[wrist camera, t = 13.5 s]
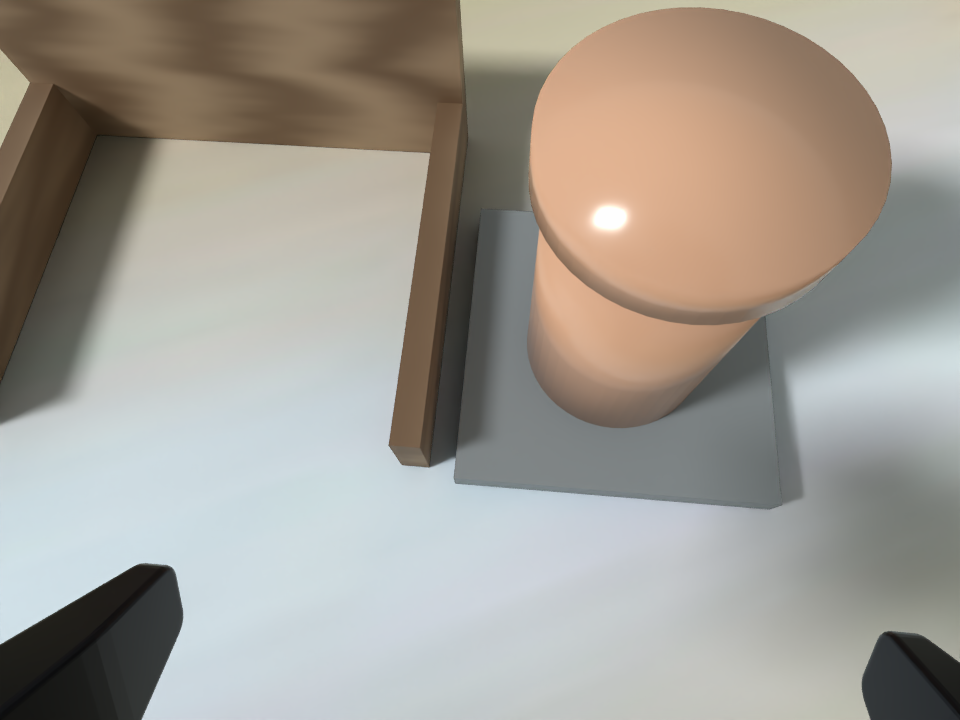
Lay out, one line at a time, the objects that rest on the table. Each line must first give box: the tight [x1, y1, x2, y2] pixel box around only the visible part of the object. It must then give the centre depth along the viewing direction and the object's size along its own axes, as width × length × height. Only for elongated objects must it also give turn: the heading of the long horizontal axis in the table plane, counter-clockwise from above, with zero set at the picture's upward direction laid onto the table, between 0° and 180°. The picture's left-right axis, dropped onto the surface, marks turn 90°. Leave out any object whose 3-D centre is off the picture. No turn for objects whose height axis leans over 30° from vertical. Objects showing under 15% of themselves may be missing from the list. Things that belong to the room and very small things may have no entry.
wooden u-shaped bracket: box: [0, 0, 468, 467], centre depth 22 cm, size 18×15×8 cm
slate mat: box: [454, 209, 782, 509], centre depth 23 cm, size 11×11×1 cm
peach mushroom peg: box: [527, 8, 892, 428], centre depth 18 cm, size 7×7×11 cm
